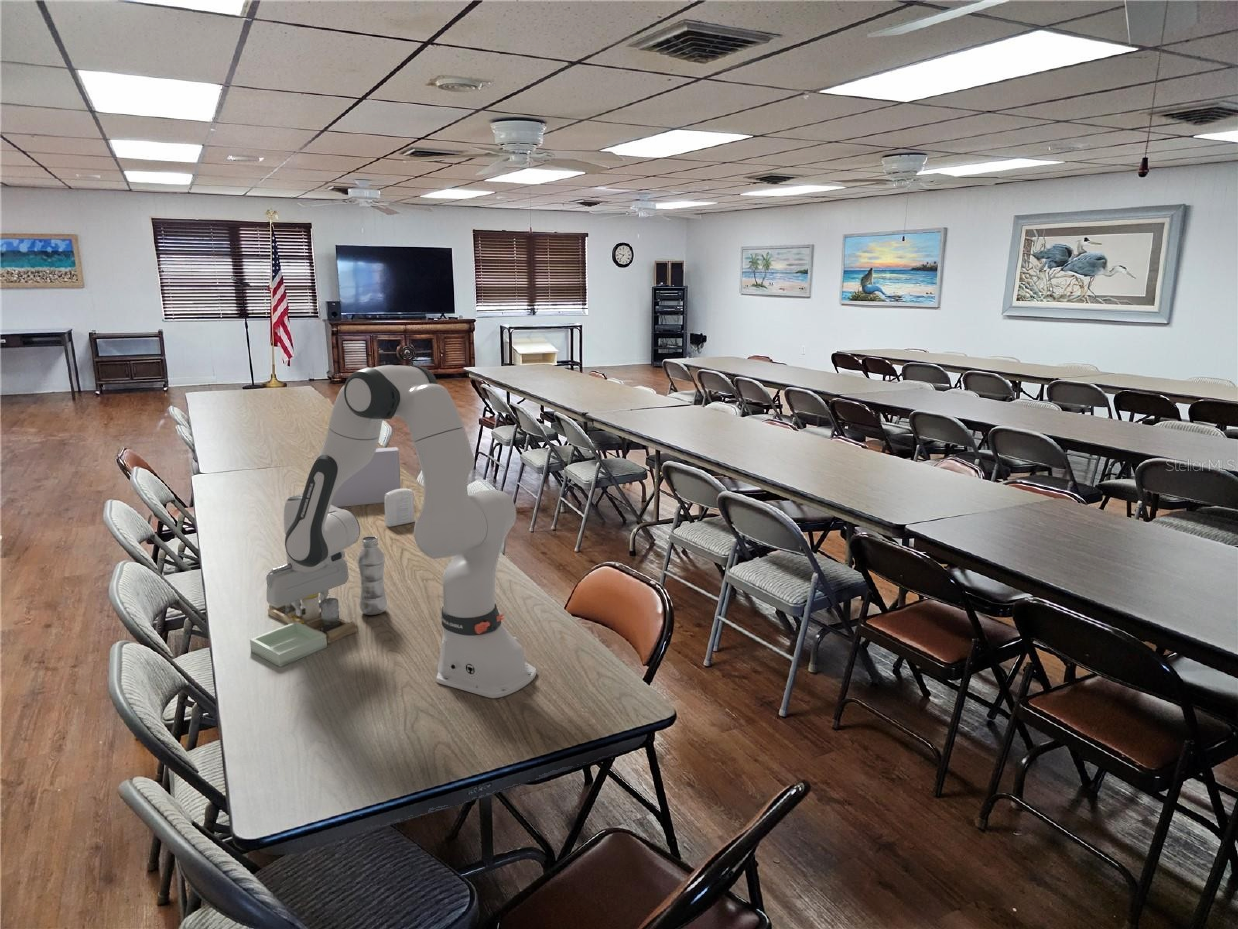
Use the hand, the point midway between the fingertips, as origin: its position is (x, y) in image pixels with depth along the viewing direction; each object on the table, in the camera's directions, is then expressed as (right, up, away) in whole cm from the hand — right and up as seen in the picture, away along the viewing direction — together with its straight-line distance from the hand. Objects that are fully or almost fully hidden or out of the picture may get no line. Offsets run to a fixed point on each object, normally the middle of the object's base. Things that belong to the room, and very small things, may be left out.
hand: (310, 611), depth 186 cm
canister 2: (+6, -4, -4) cm, 9 cm away
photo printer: (0, +15, +75) cm, 77 cm away
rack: (0, -3, +1) cm, 3 cm away
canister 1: (-7, -2, +5) cm, 9 cm away
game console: (-20, +22, +97) cm, 102 cm away
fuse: (0, -3, +1) cm, 3 cm away
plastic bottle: (+13, -2, +7) cm, 15 cm away
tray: (0, -6, -12) cm, 14 cm away
